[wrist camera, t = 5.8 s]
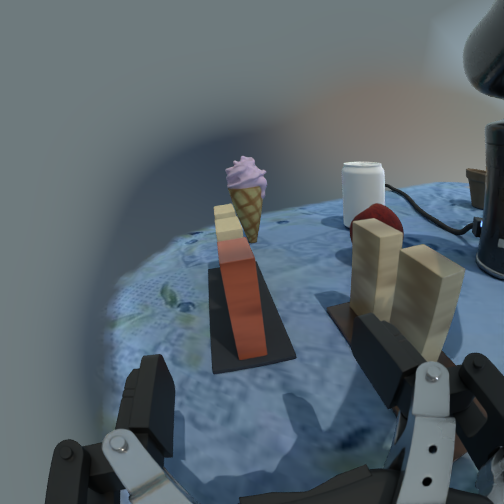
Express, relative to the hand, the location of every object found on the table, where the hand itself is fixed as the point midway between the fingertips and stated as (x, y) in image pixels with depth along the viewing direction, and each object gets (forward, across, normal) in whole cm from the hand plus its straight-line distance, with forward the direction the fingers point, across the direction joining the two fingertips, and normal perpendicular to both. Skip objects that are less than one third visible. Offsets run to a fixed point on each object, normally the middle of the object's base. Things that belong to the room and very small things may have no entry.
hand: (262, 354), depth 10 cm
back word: (+18, 0, +9) cm, 20 cm away
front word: (+4, -12, +9) cm, 15 cm away
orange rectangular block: (+11, 0, +8) cm, 14 cm away
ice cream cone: (+37, -5, +9) cm, 38 cm away
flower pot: (+36, -69, +9) cm, 78 cm away
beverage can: (+36, -26, +9) cm, 45 cm away
